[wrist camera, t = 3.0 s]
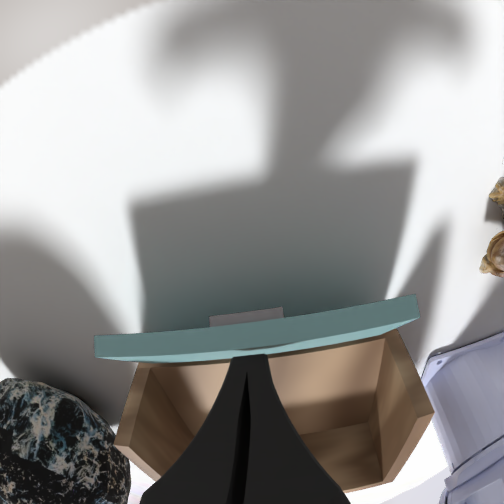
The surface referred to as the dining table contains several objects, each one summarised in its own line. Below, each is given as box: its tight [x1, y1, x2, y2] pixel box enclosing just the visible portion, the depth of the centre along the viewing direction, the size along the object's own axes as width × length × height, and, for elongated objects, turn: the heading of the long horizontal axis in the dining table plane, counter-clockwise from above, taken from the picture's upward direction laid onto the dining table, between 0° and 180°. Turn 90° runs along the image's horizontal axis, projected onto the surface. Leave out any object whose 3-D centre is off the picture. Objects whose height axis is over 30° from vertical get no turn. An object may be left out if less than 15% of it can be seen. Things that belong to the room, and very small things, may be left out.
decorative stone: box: [0, 378, 131, 504], centre depth 17 cm, size 16×16×15 cm
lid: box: [94, 294, 420, 363], centre depth 15 cm, size 14×2×6 cm
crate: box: [114, 328, 435, 493], centre depth 18 cm, size 17×12×7 cm
